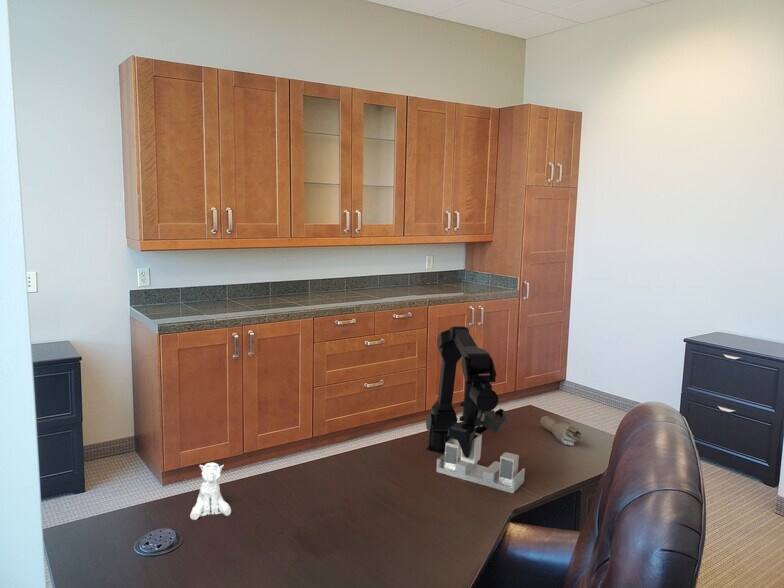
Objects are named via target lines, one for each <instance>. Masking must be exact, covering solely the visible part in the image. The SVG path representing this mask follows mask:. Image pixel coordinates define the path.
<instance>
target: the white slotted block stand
mask: <svg viewBox="0 0 784 588" xmlns="http://www.w3.org/2000/svg"><path fill="white" fill-rule="evenodd" d="M499 459H500V460H499V461H497V460H496V461H495V460H494V461H493V462H492V463H491V464H490V465H488V466H484V465H481V464H479V463H478V462H479V460H478V461H477V462H476V463H475V464H473V463H469V462H466V461H462V460H461V447H460V444H459V442H458V440H457V439H456V438H452V439H450V440H449V441H447V442H446V447H445V453H444V454H443V453H442V454H441V455H440V456H439V457H437V458H436V469H435V470H436V473H439V474H444V475H447V476H450V477H452V478H457V479H459V480H464V481H467V482H471V483H474V484H479V485H481V486H486V487H489V488H492V489H496V490H499V491H503V492H506V493H510V494H514V493H515V492H516V491H517V490H518V489H519V488H520V487H522V485H523V484H524V483H525V474H526V473H525V472H526V468H524V467H523V468H522V469H521V470H520V471H519V470H518V469H519V459H520V455H519V454H515V453H510V452H508V451H506V452H503V453H502V454H501V455H500V457H499ZM518 471H519V472H518Z"/></svg>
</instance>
